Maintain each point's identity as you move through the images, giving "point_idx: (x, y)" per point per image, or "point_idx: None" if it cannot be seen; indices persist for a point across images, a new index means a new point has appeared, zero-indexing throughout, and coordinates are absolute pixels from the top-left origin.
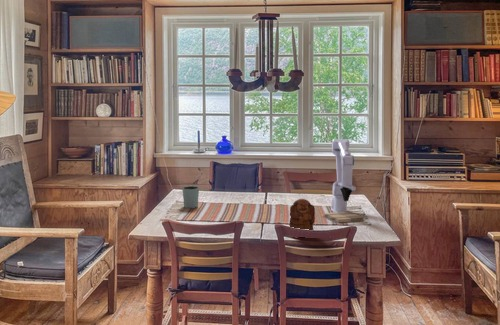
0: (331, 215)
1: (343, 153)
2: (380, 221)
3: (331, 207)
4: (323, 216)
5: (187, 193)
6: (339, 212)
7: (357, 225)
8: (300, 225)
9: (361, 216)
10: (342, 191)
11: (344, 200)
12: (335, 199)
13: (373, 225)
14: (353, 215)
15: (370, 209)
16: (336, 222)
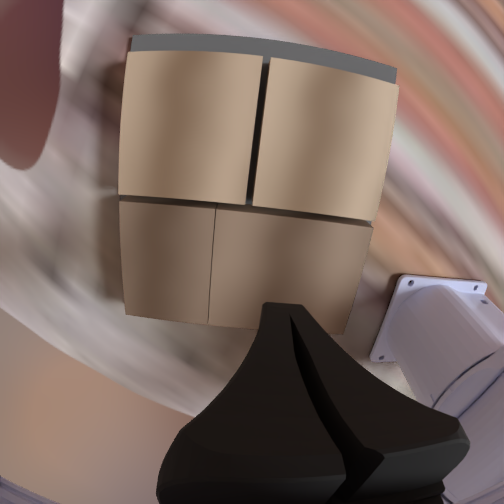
0: (295, 80)
1: None
2: (100, 370)
3: (488, 299)
4: (387, 80)
5: None
6: (352, 240)
7: (44, 175)
8: None
9: (147, 316)
10: (358, 408)
11: (281, 305)
12: (494, 337)
13: (28, 276)
14: (199, 282)
15: None
16: (157, 48)
